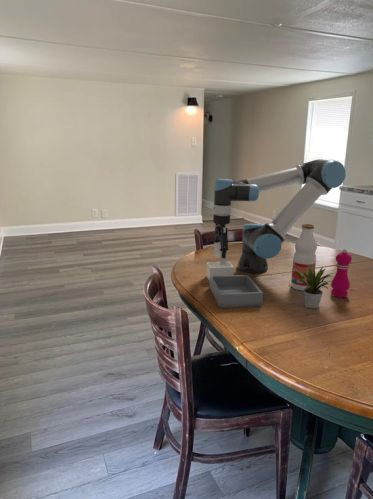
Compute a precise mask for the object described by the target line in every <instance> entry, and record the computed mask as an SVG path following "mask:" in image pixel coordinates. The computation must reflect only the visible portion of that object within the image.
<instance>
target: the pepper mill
mask: <svg viewBox="0 0 373 499" xmlns="http://www.w3.org/2000/svg"><path fill="white" fill-rule="evenodd" d="M352 259H353V257H352V255H351V254H350V253H348V250H347V249H346V248H343V249H342V252H338V253H337V255H336V257H335V261H336V264H335V267H336V272H335V274H334V276H333V277H332V280H331V281H333V282H330V286H331V288H332V289H331V291H330V294H331V296H333V295H334V296H333V297H335V296H337V297H336V298H339V297H345V298H346V296H347V297H348V293H349V292H348V290H349V289H350V286H351V282H350V280H349V276H348V270H349V269H350V264H351V263H352Z"/></svg>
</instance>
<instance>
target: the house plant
mask: <svg viewBox="0 0 373 499" xmlns="http://www.w3.org/2000/svg"><path fill="white" fill-rule="evenodd" d="M301 271H302V270H301ZM325 271H326V268H324V269H323V266H322V267H321V268H320V269H319V270H318V272H317V273H316V268H315V269H314V266H313V273H312V271H311V269H310V267H309V266H308V275H307V273H306V274H305V272H304V271H302V272H303V273H304V275H305V277H306V278H307V280H306V281H307V283H308V284H307V283H306V282H305V281H304V280H302V279H299V280H298V281H301V282H303V283H305V284H306V285H307V287H306V288H305V289H304V291H303V297H304V298H303V301H304V306H305V307H306V308H307V307H308V309H311V308H316V309H318V308H319V306H320V303H321V300H322V297H323V293H324V292H323V291H322V290H321V289H323V288H326V289H327V290H329V287H328V286H327V285H329V283H331V282H333V281H332V280H329V281H328V280H327V281H326V278H331V277H334V276H333V275H336V272H332V273H327V274H326V275H324V272H325ZM323 275H324V276H323Z"/></svg>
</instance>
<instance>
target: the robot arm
mask: <svg viewBox="0 0 373 499" xmlns="http://www.w3.org/2000/svg"><path fill="white" fill-rule="evenodd" d="M346 177H347V176H346V168H345V166H344V164H342V163H341V162H340V161H338V160H335V159H322V158H321V159H320V158H319V159H314V160H309V161H307V162H303V163H300V164H296V165H295V167H293V168H288V169H283V170H279V171H275V172H270V173H267V174H262V175H258V176H254V177H250V178H246V179H241V180H232V179H231V178H230V179H229V178H217V179H216V180H215V182H214V192H213V193H214V198H213V199H214V201H213V206H212V210H213V216H212V217H213V218H212V222H213V224H215V225H214V226H215V227H214V232H213V233H214V234H213V257H219V262H220V265H226V262H227V251H229V239H228V237H229V236H228V227H226V225H228V224H230V223H231V212H232V202H250V203H251V202H256V201H258V199H259V195H260V192H261V193H263V192H267V191H270V190H274V189H279V188H284V187H287V186H291V185H295V184H296V185H297V184H298V185H300V186H301V185H303V186H302V188H301V189H299V191H298V192H297V193H296V194H295V195H294V196H293V197H292V199H291V200H289V202H288V203H287V204H286V205H285V206H284V208H282V209H281V210H280V212H279V213H278V214H277V215H276V216H275V217H274V218H273V219H272V221H270V222H266V223H245V224H243V227H242V240H241V242H242V243H241V255H240V257H239V259H238V263H237V269H238V270H239V271H241V272H244V273H250V274H251V273H253V274H260V273H265V272H267V271H268V270H269V269H268V268H269V263H268V260H269V259H273V258H274V257H277V256H278V255H279V254H280V252H281V250H282V244H283V243H284V241H286V235H287V233H288V232H290V230H291V229H292V228H293V227H294V226H295V224H297V222H299V220H300V219H301V218H303V215H305V214H306V213H307V211H308V210H309V209H310V208H311V207H312V206H313V205H314V204H315V202H317V201H318V200H319V198H320V197H321V196H325V195H328V194H329V193H330V191H331V190H332V189H336V188H338V187H340V186H341V185H343V183H344V182H345V179H346ZM267 259H268V260H267Z"/></svg>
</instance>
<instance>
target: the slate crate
mask: <svg viewBox="0 0 373 499" xmlns="http://www.w3.org/2000/svg"><path fill="white" fill-rule="evenodd" d="M208 283H209V287H208V288H209V290H210V293H211V294H212V297H213V299H214V300H215V302H216V304H217V307H218V309H224V308H225V309H228V308H248V307H250V308H252V307H253V308H255V307H263V300H264V292H263V291H262V290H261V289H260V287H258V285H257V284H256V283H255V281H254V280H253V279H252V278H251V277H250V276H249V275H248V274H241V275H239V274H236V275H231V276H210V277H209V280H208Z"/></svg>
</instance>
